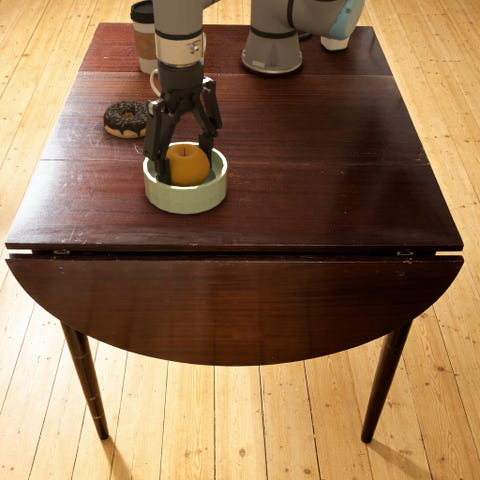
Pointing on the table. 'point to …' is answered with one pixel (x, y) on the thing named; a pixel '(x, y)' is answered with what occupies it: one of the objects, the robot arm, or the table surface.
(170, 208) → the serving bowl
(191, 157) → the apple
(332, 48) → the cup
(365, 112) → the table surface
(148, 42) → the coffee cup
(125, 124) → the donut
